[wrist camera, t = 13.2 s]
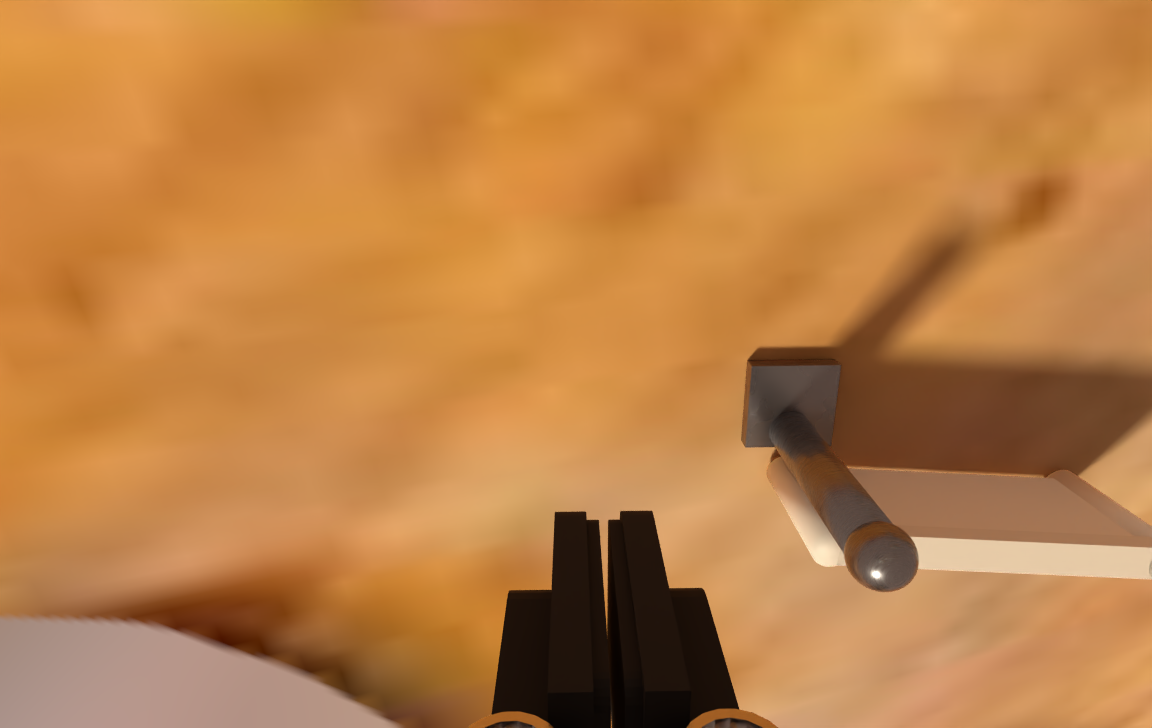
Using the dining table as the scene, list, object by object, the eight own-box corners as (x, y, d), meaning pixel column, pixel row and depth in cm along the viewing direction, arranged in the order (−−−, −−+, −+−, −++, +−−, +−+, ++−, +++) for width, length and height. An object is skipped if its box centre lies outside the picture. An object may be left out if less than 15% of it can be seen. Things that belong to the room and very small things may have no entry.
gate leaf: (769, 455, 40) (815, 530, 33) (1080, 470, 41) (1196, 548, 33) (764, 485, 41) (808, 565, 33) (1070, 499, 41) (1182, 582, 34)
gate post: (834, 359, 39) (978, 485, 25) (824, 445, 41) (953, 606, 27) (747, 360, 39) (844, 486, 25) (740, 446, 41) (828, 607, 27)
